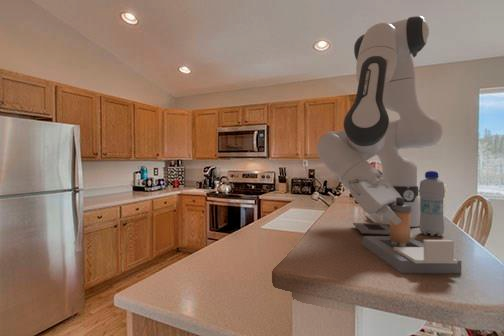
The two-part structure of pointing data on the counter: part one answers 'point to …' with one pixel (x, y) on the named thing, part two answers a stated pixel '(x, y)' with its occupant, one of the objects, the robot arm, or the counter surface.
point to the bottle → (431, 204)
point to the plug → (401, 230)
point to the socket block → (400, 262)
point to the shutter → (430, 252)
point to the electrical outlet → (373, 229)
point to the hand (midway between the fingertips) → (402, 221)
